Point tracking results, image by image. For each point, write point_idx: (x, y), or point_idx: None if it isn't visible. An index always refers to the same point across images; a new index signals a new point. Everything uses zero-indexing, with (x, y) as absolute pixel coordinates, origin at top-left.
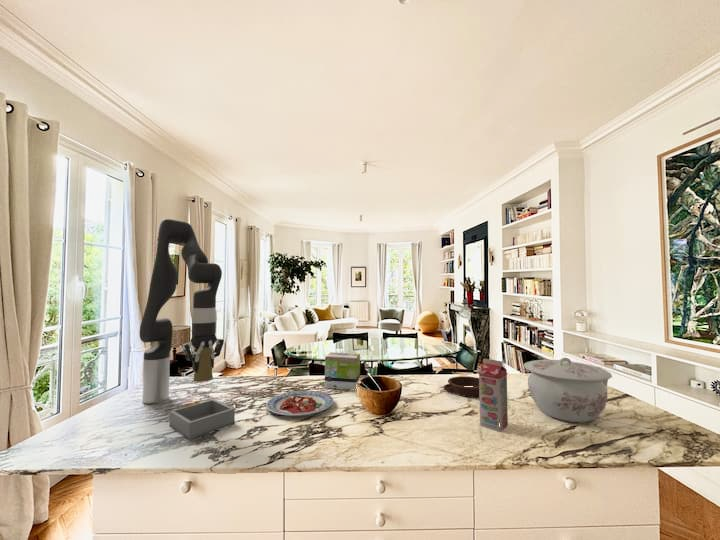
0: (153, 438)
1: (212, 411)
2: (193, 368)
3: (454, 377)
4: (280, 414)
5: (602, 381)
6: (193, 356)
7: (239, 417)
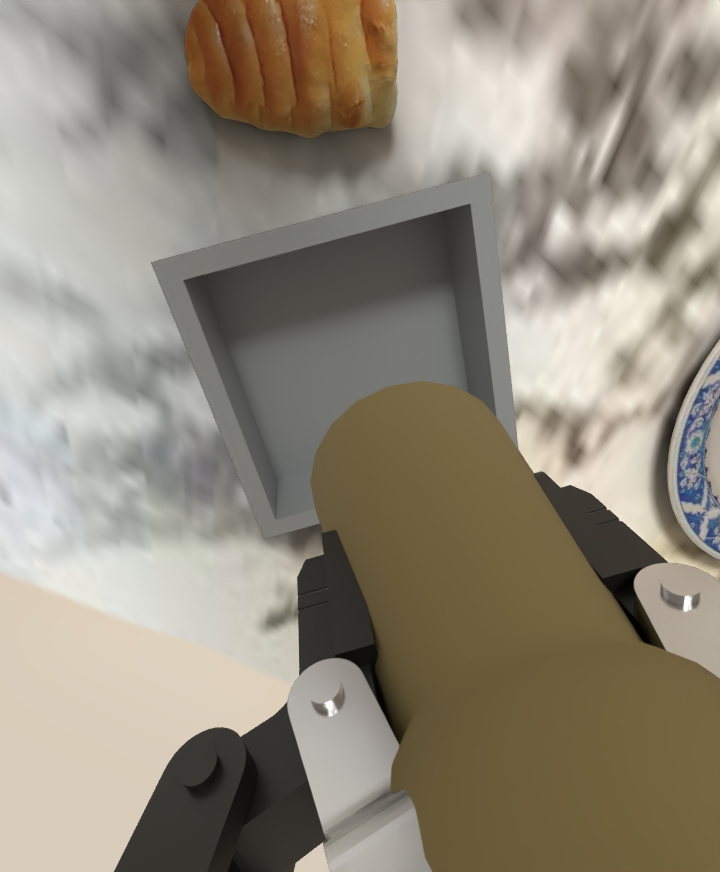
0: (102, 386)
1: (445, 216)
2: (310, 602)
3: None
4: (672, 507)
5: None
6: (321, 792)
7: (538, 368)
